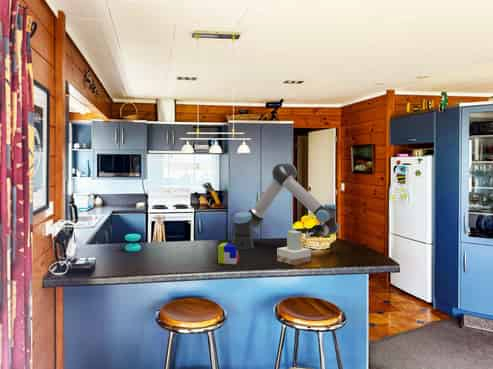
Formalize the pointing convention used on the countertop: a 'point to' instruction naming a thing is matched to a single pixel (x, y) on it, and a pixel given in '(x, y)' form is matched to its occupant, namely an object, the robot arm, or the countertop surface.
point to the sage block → (294, 240)
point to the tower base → (293, 260)
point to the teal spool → (132, 246)
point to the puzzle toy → (228, 253)
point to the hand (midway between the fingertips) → (296, 234)
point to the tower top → (294, 253)
